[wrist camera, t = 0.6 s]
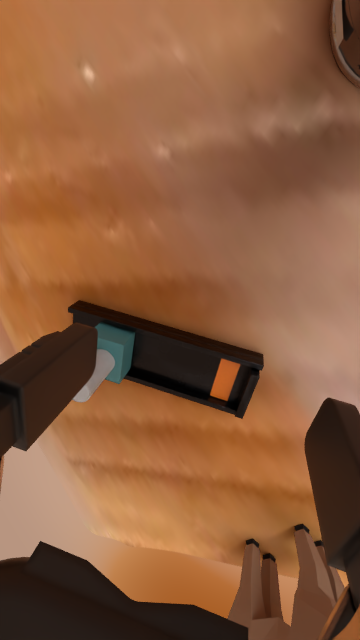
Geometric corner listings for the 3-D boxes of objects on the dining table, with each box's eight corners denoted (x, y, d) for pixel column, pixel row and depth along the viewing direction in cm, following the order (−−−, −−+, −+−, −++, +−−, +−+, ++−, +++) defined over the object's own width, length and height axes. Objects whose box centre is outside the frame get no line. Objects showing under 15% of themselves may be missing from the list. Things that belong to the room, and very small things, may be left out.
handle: (103, 292, 29) (54, 326, 22) (139, 303, 29) (101, 340, 22) (98, 358, 33) (55, 404, 26) (130, 368, 32) (95, 418, 25)
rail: (79, 299, 32) (62, 310, 29) (263, 354, 29) (264, 372, 26) (77, 350, 35) (62, 364, 32) (243, 403, 32) (242, 424, 30)
